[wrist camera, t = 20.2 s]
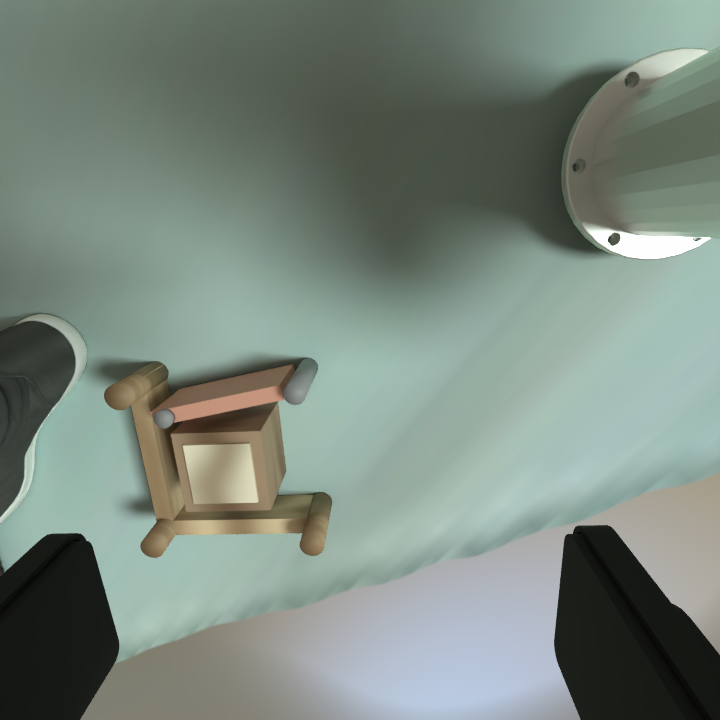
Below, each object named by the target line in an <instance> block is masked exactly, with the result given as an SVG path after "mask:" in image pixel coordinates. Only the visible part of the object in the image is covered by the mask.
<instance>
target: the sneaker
mask: <svg viewBox="0 0 720 720" xmlns="http://www.w3.org/2000/svg"><path fill="white" fill-rule="evenodd" d="M86 363H87V348H86V344H85V342H84V340H83V338H82V336H81V335H80V334H79V333H78V331H77V330H76V329H75V328H74V327H72V326H71V325H70V324H69V323H67V322H66V321H64V320H62V319H60V318H58V317H55V316H52V315H48V314H37V315H32V316H29V317H27V318H25V319H23V320H21V321H19V322H18V323H16V324H15V325H14V326H12V327H10V328H7V329H5V330H3V331H1V332H0V523H1V522H3V521H4V520H5V519H6V518H7V517H8V516H9V515H10V514H11V513H12V512H13V511H14V510H15V509H16V508H17V507H18V505H19V504H20V503H21V502H22V500H23V499H24V497H25V496H26V494H27V492H28V490H29V487H30V485H31V481H32V478H33V474H34V466H35V447H36V439H37V436H38V433H39V430H40V428H41V426H42V425H43V423H44V422H45V420H46V419H47V417H48V416H49V415H50V413H51V412H52V411H53V410H54V409H55V408H56V407H57V405H58V404H59V403H60V402H61V401H62V400H63V399H64V398H65V397H66V396H67V395H68V394H69V392H70V391H71V390H72V389H73V387H74V386H75V385H76V383H77V382H78V380H79V378H80V377H81V375H82V373H83V371H84V369H85V367H86Z"/></svg>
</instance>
